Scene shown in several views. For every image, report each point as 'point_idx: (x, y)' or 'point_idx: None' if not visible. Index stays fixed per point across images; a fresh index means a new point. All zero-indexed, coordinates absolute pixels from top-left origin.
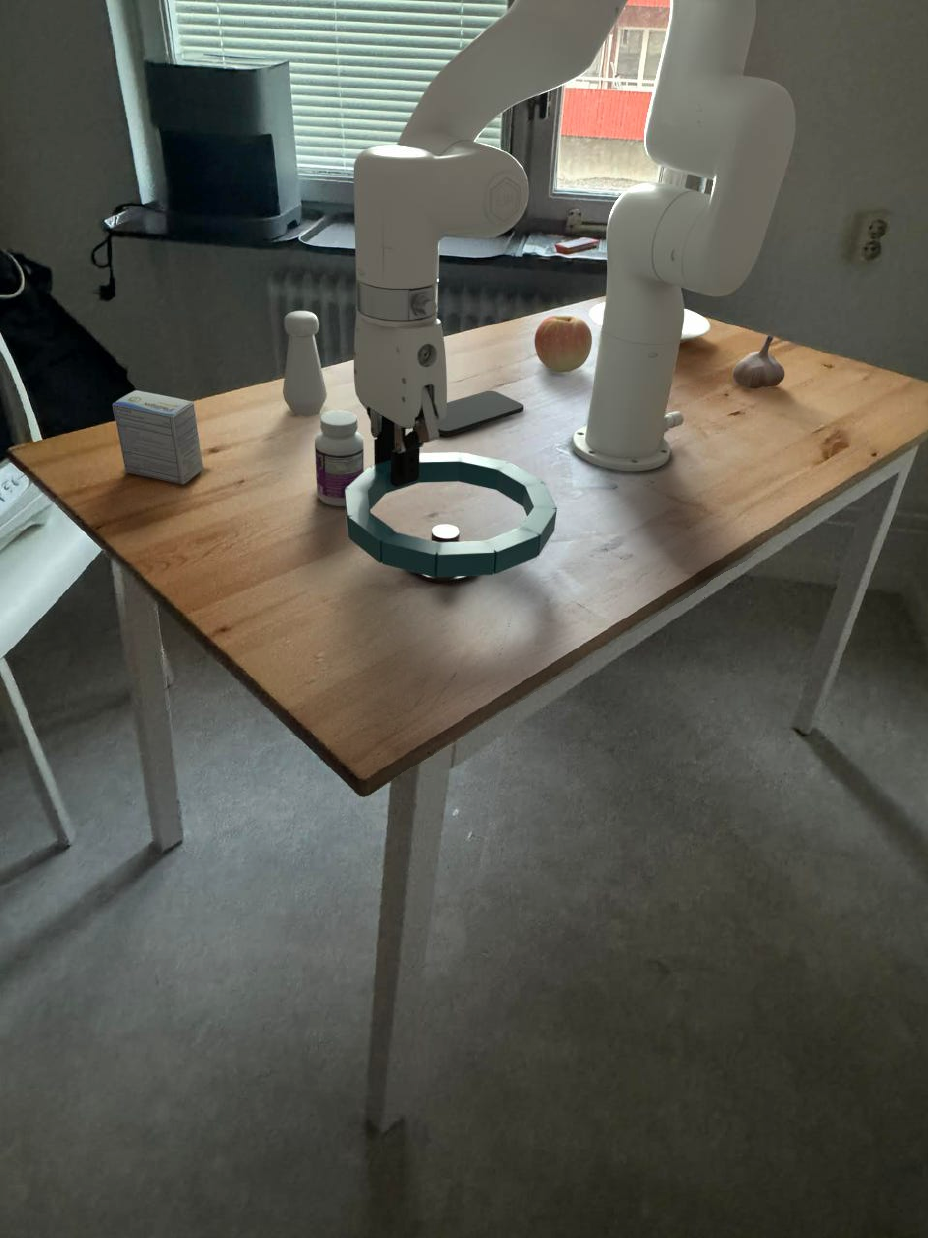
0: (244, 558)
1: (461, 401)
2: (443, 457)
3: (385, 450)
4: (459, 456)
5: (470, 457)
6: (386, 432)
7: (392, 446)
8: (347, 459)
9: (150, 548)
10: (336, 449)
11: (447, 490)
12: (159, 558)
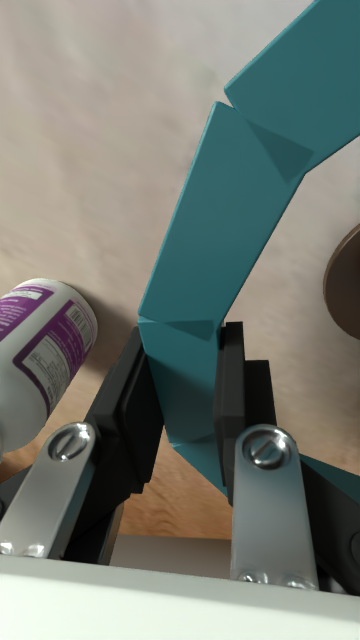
0: (189, 478)
1: None
2: (227, 228)
3: (150, 436)
4: (259, 142)
5: (308, 81)
6: (122, 490)
7: (143, 422)
8: (51, 397)
9: (127, 520)
10: (34, 436)
11: (83, 54)
12: (150, 522)
